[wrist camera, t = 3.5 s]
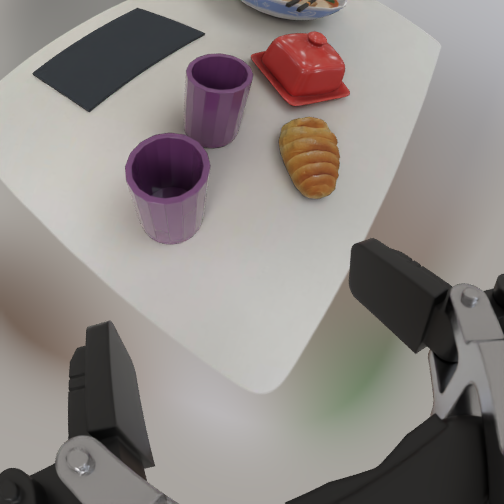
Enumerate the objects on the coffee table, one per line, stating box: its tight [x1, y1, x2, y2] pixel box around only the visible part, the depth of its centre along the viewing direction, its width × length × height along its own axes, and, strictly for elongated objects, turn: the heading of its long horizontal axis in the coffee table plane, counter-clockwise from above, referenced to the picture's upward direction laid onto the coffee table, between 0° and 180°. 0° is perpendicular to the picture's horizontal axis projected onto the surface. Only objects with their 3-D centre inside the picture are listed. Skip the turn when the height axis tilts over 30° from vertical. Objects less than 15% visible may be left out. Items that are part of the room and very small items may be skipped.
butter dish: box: [251, 32, 350, 106], centre depth 35 cm, size 12×12×8 cm
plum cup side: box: [184, 54, 253, 148], centre depth 29 cm, size 6×6×8 cm
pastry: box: [279, 117, 340, 199], centre depth 32 cm, size 9×7×4 cm
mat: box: [33, 8, 205, 112], centre depth 35 cm, size 22×16×1 cm
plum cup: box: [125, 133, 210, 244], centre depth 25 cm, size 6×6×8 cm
